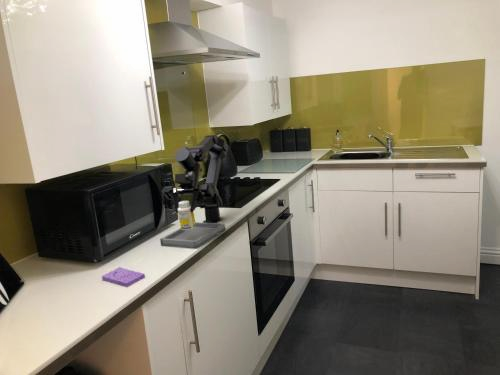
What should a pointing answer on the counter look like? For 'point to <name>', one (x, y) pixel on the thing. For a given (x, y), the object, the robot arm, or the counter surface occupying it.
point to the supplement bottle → (186, 216)
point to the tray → (193, 235)
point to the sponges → (123, 276)
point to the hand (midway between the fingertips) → (183, 212)
